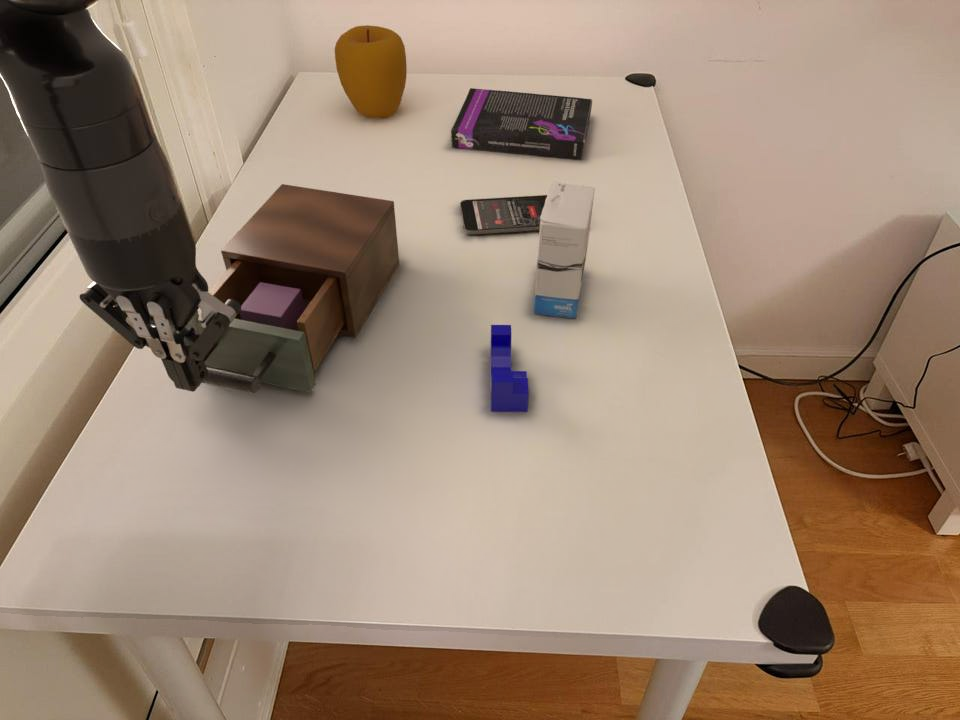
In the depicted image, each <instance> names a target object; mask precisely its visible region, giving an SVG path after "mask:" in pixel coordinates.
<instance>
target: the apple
mask: <svg viewBox="0 0 960 720" xmlns="http://www.w3.org/2000/svg"><path fill="white" fill-rule="evenodd" d="M406 53H407V52H406V48H405V44H404V42H403V39H402V37H401V36H400V35H399V34H398V33H397V32H395V31H394V30H392V29H390V28H386V27H384V26H383V27H382V26H378V25H357V26H354V27H352V28H349V29H348V30H347V31H346V32H344V33H342V34H341V35H340V36H339V37H338V39H337V41H336V42H335V46H334V60H335V66H336V67H335V68H336V72H337V75H338V78H339V81H340V85H341V87H342V89H343V91H344V93H345V95H346V97H347V98H348V100H349V101H350V104H351V105H352V106H353V107H354V109H355V110H356V111H357V112H358V114H360V115H361V116H362V117H365V118H372V119H373V118H374V119H386V118H389V117H393V115H395V114H396V113H397V112H398V110H399V107H400V106H401V103H402V99H403V95H404V92H405V88H406V82H407V72H408V71H407V69H408V68H407V54H406Z"/></svg>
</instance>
